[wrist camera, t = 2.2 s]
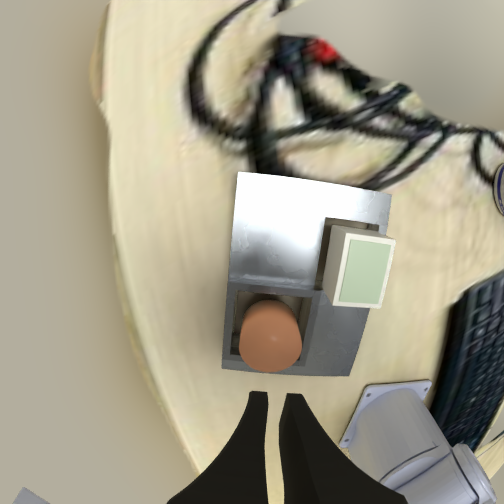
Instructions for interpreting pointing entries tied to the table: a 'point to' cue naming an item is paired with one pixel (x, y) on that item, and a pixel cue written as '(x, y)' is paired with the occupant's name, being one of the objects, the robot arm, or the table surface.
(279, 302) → the button
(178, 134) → the table surface
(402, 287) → the table surface
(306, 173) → the table surface
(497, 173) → the energy drink
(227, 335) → the panel
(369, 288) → the on key
